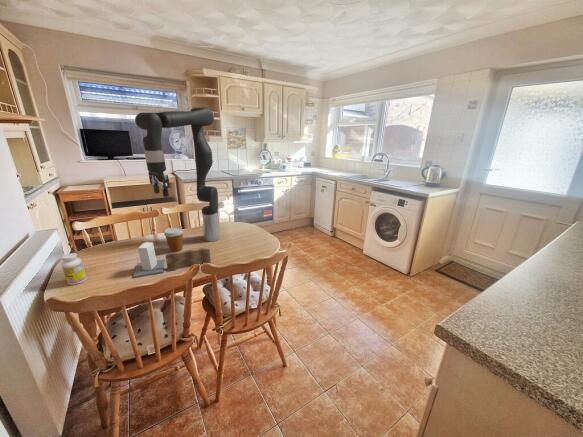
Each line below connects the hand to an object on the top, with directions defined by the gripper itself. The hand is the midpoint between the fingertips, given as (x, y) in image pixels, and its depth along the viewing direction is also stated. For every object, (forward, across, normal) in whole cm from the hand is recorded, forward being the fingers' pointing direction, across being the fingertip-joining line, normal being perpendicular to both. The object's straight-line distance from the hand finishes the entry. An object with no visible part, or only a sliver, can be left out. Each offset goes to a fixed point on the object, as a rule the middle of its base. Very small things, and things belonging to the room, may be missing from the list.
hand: (161, 195), depth 116 cm
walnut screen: (+35, -13, -2) cm, 37 cm away
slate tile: (+34, -2, +12) cm, 37 cm away
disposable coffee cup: (+35, +8, -6) cm, 36 cm away
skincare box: (+34, -2, +12) cm, 36 cm away
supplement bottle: (+34, +12, +37) cm, 52 cm away
